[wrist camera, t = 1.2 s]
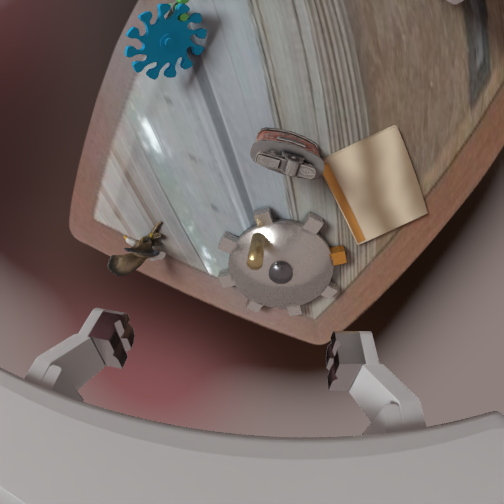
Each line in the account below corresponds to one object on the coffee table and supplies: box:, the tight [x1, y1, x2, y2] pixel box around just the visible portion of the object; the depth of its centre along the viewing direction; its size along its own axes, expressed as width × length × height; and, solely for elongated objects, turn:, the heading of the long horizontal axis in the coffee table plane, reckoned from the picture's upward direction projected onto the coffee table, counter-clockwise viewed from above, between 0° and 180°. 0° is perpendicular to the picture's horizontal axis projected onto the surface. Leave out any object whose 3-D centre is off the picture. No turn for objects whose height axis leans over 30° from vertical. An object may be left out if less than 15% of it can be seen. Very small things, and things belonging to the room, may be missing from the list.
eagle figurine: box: [108, 222, 166, 276], centre depth 44 cm, size 8×7×9 cm
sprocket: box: [218, 207, 347, 316], centre depth 44 cm, size 20×20×8 cm
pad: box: [322, 125, 427, 245], centre depth 38 cm, size 12×14×1 cm
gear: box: [125, 0, 207, 80], centre depth 28 cm, size 11×6×10 cm
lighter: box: [251, 128, 325, 179], centre depth 33 cm, size 8×3×10 cm, turn 76°
